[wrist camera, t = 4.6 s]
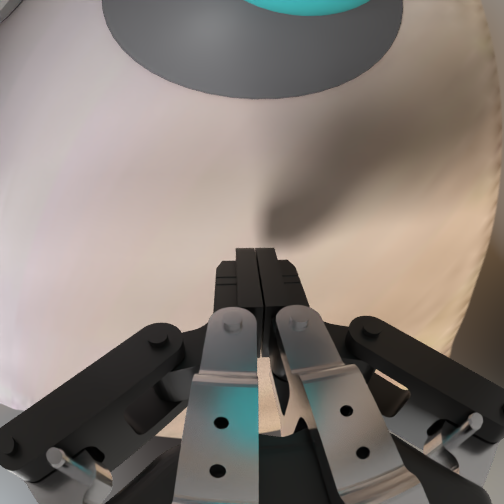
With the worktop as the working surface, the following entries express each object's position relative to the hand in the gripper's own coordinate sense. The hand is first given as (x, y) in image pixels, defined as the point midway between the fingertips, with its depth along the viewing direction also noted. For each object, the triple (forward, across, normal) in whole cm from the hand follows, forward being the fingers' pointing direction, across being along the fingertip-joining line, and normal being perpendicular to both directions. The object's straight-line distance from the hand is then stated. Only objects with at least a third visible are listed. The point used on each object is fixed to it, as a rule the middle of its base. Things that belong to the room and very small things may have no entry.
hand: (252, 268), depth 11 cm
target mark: (+2, 0, -13) cm, 13 cm away
